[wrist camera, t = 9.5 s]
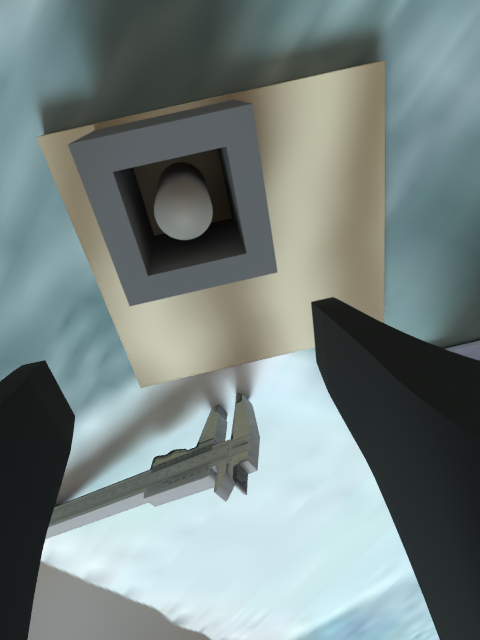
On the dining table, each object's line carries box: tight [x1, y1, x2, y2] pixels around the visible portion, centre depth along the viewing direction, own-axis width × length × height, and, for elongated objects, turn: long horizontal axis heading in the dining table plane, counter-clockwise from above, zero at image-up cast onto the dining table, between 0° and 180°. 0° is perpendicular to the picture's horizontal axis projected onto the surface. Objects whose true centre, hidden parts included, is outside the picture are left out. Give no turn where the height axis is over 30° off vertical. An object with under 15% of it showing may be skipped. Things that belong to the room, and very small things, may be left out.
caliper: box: [45, 394, 260, 539], centre depth 24 cm, size 21×1×6 cm, turn 123°
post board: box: [37, 61, 385, 388], centre depth 18 cm, size 14×13×5 cm
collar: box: [68, 100, 278, 306], centre depth 15 cm, size 6×6×4 cm
